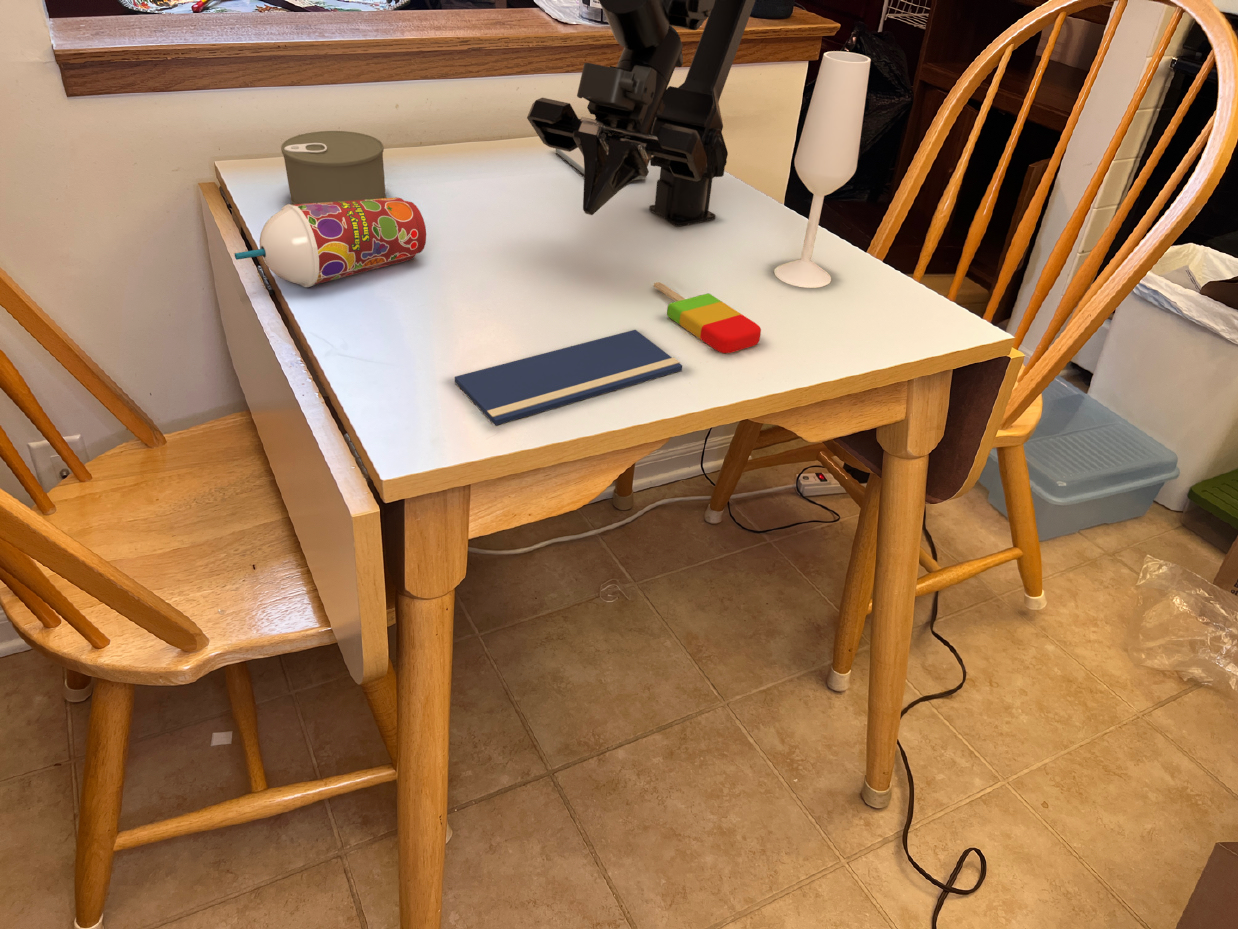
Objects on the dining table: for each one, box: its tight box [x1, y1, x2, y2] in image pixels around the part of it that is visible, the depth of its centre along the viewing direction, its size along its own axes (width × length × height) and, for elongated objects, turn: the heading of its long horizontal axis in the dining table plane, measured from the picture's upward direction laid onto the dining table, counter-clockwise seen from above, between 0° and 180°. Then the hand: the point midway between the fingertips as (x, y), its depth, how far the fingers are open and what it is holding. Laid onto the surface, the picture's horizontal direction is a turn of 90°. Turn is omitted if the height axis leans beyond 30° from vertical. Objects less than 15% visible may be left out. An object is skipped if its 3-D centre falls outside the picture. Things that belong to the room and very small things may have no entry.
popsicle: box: [653, 281, 762, 354], centre depth 95 cm, size 6×15×2 cm, turn 35°
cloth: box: [454, 329, 683, 426], centre depth 85 cm, size 20×8×1 cm, turn 124°
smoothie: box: [234, 197, 427, 288], centre depth 96 cm, size 8×8×20 cm
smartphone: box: [555, 148, 648, 181], centre depth 132 cm, size 8×1×15 cm
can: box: [280, 130, 387, 205], centre depth 113 cm, size 12×12×7 cm
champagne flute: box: [773, 50, 872, 289], centre depth 100 cm, size 7×7×24 cm
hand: (587, 212), depth 94 cm, fingers closed
